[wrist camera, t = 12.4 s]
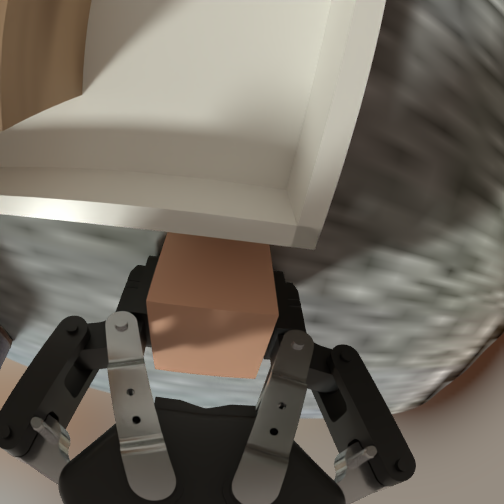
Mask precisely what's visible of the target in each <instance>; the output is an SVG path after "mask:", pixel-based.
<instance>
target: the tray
mask: <svg viewBox="0 0 504 504" xmlns="http://www.w3.org/2000/svg"><path fill="white" fill-rule="evenodd" d="M385 2H386V0H91V6H90V12H89V19H88V26H87V34H86V43H85V54H84V67H83V87H82V95H81V96H78V97H76V98H73V99H70V100H68V101H65V102H63V103H61V104H58V105H56V106H53V107H51V108H49V109H47V110H44V111H42V112H40V113H38V114H36V115H34V116H31V117H29V118H27V119H25V120H23V121H21V122H19V123H17V124H15V125H14V126H12V127H10V128H8V129H6V130H4V131H1V132H0V214H6V215H16V216H26V217H35V218H45V219H54V220H64V221H73V222H83V223H92V224H101V225H110V226H119V227H128V228H137V229H146V230H154V231H163V232H172V233H180V234H189V235H197V236H206V237H214V238H222V239H231V240H239V241H247V242H255V243H263V244H271V245H279V246H287V247H295V248H303V249H311V250H315V248H316V245H317V242H318V239H319V236H320V233H321V231H322V228H323V225H324V222H325V219H326V216H327V213H328V210H329V207H330V204H331V201H332V198H333V195H334V192H335V189H336V186H337V183H338V180H339V177H340V174H341V170H342V167H343V164H344V161H345V158H346V154H347V151H348V148H349V144H350V141H351V138H352V134H353V131H354V127H355V124H356V121H357V117H358V113H359V110H360V106H361V103H362V99H363V95H364V92H365V88H366V84H367V80H368V76H369V72H370V68H371V64H372V60H373V56H374V52H375V48H376V44H377V39H378V35H379V31H380V26H381V22H382V17H383V12H384V7H385Z"/></svg>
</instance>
